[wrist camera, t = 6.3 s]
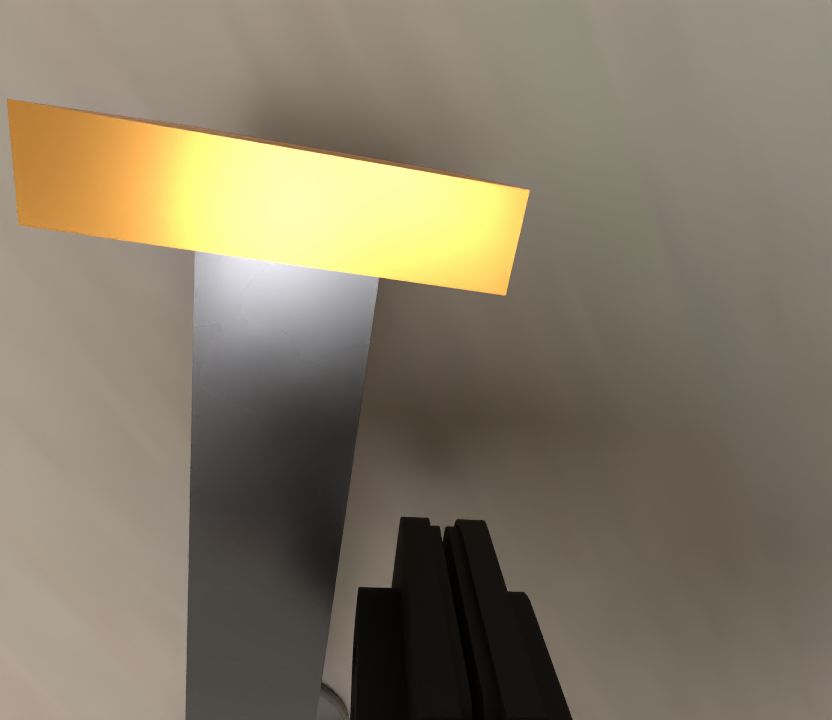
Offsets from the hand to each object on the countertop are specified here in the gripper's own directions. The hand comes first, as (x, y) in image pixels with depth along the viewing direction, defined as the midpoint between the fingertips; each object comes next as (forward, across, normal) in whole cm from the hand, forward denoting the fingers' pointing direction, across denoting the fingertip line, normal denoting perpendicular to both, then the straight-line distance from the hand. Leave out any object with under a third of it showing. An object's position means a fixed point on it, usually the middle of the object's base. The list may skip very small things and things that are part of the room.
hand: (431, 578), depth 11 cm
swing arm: (+1, +3, 0) cm, 3 cm away
